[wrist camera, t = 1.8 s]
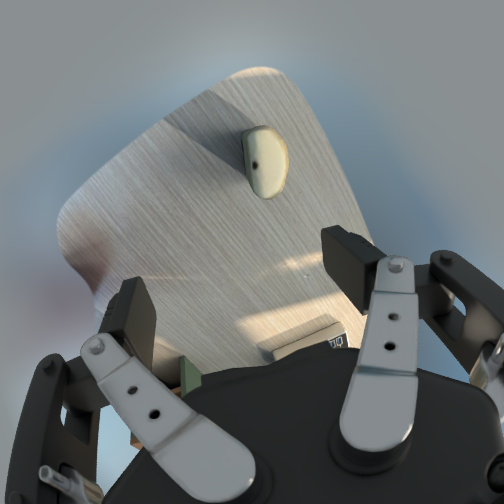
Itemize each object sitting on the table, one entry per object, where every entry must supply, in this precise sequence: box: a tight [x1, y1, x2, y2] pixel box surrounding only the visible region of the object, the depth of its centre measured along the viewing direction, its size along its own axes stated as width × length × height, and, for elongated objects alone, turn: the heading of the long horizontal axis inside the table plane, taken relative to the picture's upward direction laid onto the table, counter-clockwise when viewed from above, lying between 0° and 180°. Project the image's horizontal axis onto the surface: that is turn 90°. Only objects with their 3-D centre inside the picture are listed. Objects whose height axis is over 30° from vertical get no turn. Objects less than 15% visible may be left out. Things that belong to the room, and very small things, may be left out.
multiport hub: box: [272, 322, 350, 361], centre depth 40 cm, size 4×11×2 cm, turn 110°
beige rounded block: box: [241, 125, 289, 200], centre depth 24 cm, size 6×5×8 cm
